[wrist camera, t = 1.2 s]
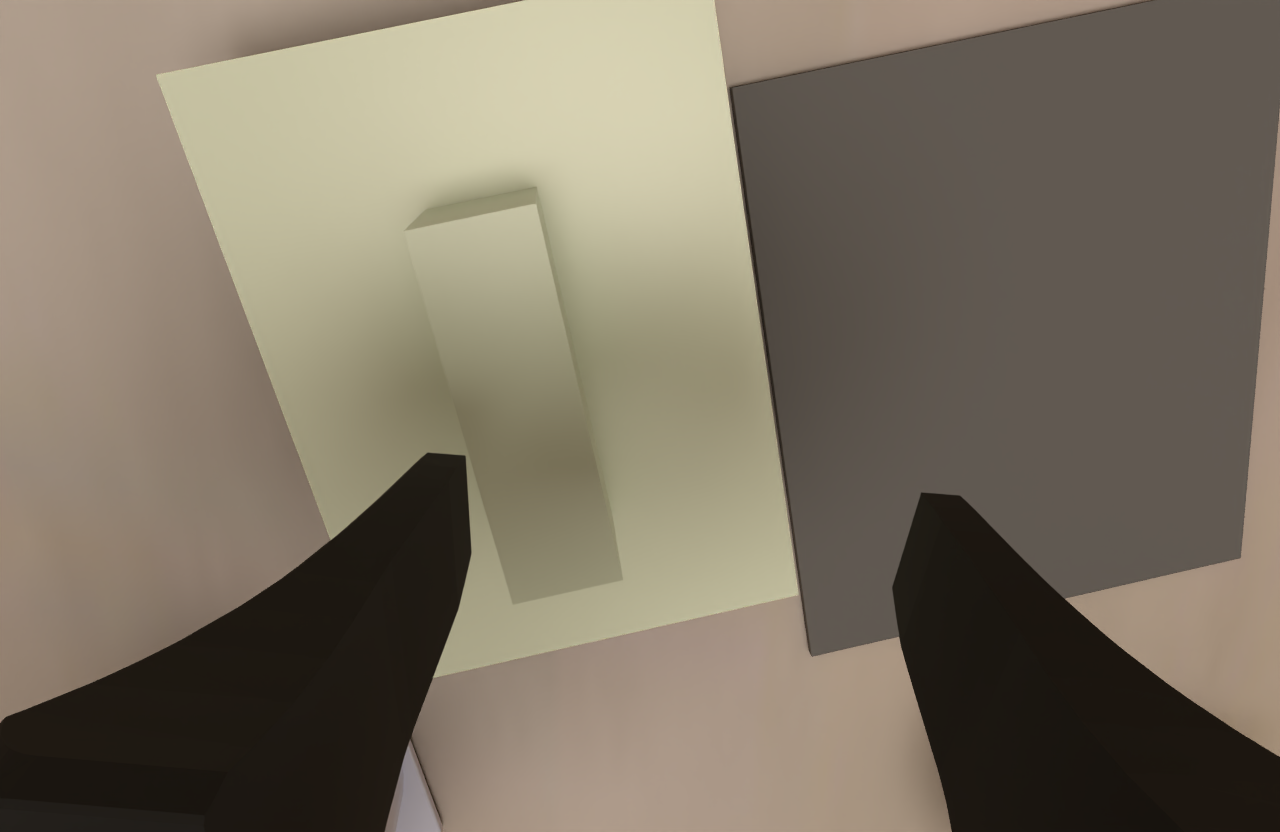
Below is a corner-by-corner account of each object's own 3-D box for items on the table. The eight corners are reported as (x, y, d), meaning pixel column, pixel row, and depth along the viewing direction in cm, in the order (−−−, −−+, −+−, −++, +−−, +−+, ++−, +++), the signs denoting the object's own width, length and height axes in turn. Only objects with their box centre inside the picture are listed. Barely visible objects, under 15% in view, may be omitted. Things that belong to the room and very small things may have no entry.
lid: (399, 637, 24) (363, 775, 19) (198, 77, 18) (76, 70, 14) (776, 552, 24) (835, 666, 19) (690, -23, 19) (741, -64, 14)
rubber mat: (809, 651, 28) (811, 656, 28) (729, 88, 22) (732, 87, 22) (1233, 553, 29) (1240, 558, 29) (1282, -27, 22) (1291, -28, 22)
